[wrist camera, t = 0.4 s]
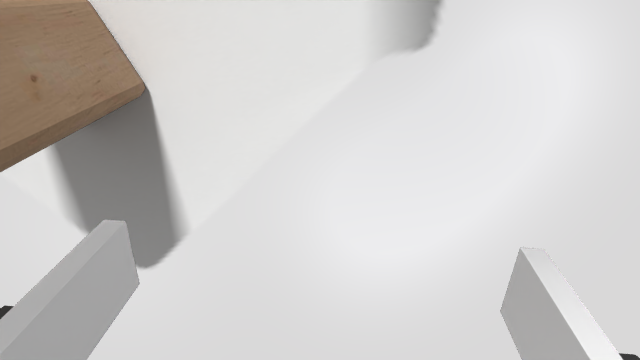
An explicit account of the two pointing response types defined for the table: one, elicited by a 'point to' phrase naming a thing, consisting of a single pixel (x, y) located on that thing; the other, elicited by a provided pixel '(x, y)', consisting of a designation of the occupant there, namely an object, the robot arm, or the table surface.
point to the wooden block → (56, 74)
